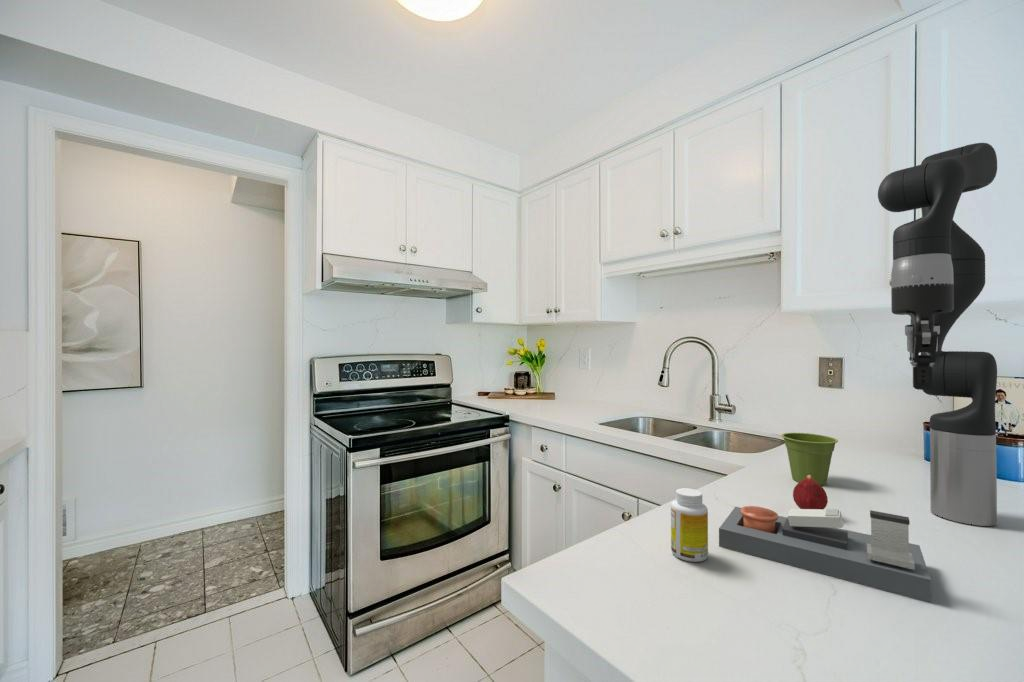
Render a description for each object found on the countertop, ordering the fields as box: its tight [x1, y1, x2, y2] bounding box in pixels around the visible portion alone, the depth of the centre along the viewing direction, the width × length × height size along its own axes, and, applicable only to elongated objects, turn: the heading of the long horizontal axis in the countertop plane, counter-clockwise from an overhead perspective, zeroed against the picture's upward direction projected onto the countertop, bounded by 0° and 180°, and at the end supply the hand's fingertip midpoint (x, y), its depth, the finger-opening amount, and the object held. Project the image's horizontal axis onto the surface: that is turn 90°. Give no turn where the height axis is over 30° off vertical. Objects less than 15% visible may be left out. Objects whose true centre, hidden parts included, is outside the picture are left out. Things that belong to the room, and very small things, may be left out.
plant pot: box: [781, 432, 839, 486], centre depth 110 cm, size 12×12×11 cm
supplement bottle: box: [670, 487, 709, 563], centre depth 70 cm, size 6×6×10 cm
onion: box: [792, 475, 829, 510], centre depth 87 cm, size 6×6×8 cm
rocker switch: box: [787, 508, 844, 529], centre depth 71 cm, size 4×7×2 cm, turn 52°
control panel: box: [718, 506, 932, 604], centre depth 71 cm, size 13×26×4 cm, turn 52°
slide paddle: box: [867, 509, 915, 570], centre depth 62 cm, size 4×5×6 cm
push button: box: [740, 505, 779, 534], centre depth 76 cm, size 6×6×4 cm
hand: (922, 389), depth 72 cm, fingers closed
